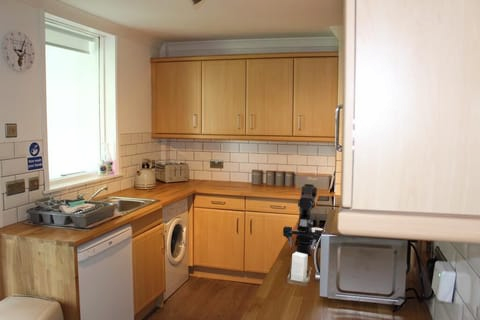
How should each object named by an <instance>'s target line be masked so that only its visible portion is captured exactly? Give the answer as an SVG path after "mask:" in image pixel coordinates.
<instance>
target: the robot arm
mask: <svg viewBox="0 0 480 320" xmlns="http://www.w3.org/2000/svg"><path fill="white" fill-rule="evenodd" d="M300 191H301V192H300V194H301V195H300V198H299V199H298V202H297V207H299V208H298V213H299V215H298V222H297V227H296V229H297V230H295V229H293V227H292V226H286V225H284V226H283V230H282V235H283V237H285V238H286V239H288V242H289V246H290V249H291V250H293V235H296V236H295V237H296V239H295V240H296V241H295V244H296V245H297V246H296V252H299V253H303V254H308V257H310V256H313V254H312V253H311V252H313V250H314V249H313V248H314V246H315V245H316V243H317V242H318V240H319V238H320V236H321V233H322V230H315V232H312V228H313V225H314V218H312V210H313V209H314V208H315V207H316V198H317V197H318V194H317V193H318V188H317V187H315V185H314V184H310V183H304V185H303V186H301V190H300ZM311 245H312V246H311Z"/></svg>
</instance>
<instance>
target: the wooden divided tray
mask: <svg viewBox="0 0 480 320" xmlns="http://www.w3.org/2000/svg"><path fill="white" fill-rule="evenodd" d="M291 268H292V265H290V269H289V272H288V275H287V277H286V284H289V285H296V286H301V287H309V283H310V281H311V280H310V279H311V275H312V272H313V271H312V270H313V267H311V266H307V271H308V273H307V275H306V280H305V281H304V282H303V281H296V280H292V279H291ZM311 271H312V272H311Z"/></svg>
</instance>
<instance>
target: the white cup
mask: <svg viewBox="0 0 480 320" xmlns="http://www.w3.org/2000/svg"><path fill="white" fill-rule="evenodd" d="M311 228H312V232H315V230H323V229H324V228H320V227H311ZM311 246H312V245H311ZM313 250H316V249H315V246H314V248H313Z"/></svg>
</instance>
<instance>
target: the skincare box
mask: <svg viewBox="0 0 480 320" xmlns="http://www.w3.org/2000/svg"><path fill="white" fill-rule="evenodd" d="M308 257H309V256H308V254H303V253H299V252H297V251H295V252H293V253H292V256H291V266H292V268H291V267H290V269H291V276H290V277H291V279H292V280H296V281H303V282H304V281H305V280H306V275H307V274H308V273H307V267H308Z"/></svg>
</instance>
